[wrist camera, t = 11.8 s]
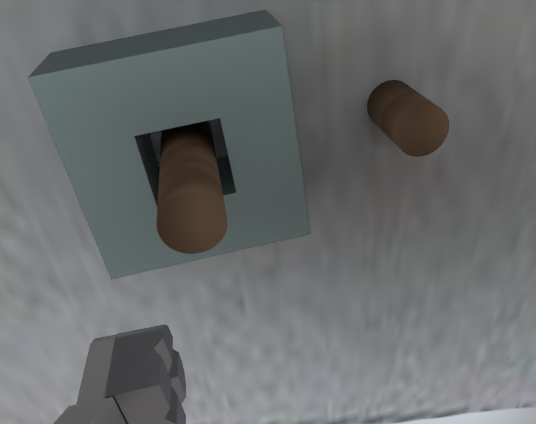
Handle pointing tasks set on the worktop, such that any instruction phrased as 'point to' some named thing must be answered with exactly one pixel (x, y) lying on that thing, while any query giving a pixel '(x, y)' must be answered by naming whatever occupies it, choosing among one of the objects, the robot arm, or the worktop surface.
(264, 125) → the hole block
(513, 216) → the worktop surface
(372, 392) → the worktop surface
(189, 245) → the long peg
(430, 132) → the short peg
